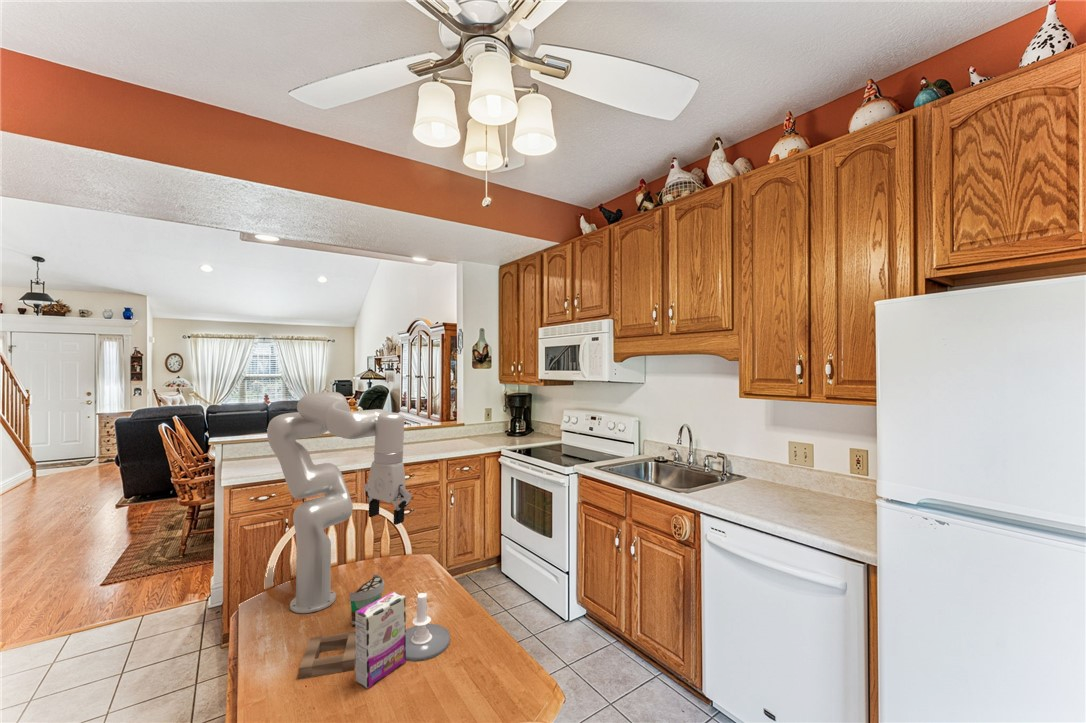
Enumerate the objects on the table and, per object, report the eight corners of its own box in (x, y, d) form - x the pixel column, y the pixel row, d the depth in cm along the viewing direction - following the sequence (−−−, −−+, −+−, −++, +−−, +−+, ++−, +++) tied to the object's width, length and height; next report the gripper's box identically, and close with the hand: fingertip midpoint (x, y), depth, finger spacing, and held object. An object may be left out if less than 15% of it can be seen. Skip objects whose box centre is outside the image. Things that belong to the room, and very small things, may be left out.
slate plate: (395, 632, 122) (395, 628, 122) (447, 624, 126) (447, 620, 126) (393, 665, 109) (393, 660, 109) (451, 655, 112) (451, 650, 112)
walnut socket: (310, 647, 115) (310, 638, 115) (360, 640, 118) (360, 630, 119) (298, 679, 104) (299, 668, 104) (354, 669, 107) (354, 659, 107)
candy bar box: (392, 655, 112) (393, 590, 113) (406, 662, 110) (407, 595, 110) (353, 682, 103) (354, 610, 103) (367, 690, 100) (368, 617, 100)
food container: (368, 632, 122) (369, 595, 122) (348, 629, 123) (349, 593, 123) (392, 608, 134) (392, 575, 134) (374, 606, 135) (374, 573, 135)
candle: (407, 637, 118) (408, 592, 118) (427, 630, 121) (427, 586, 121) (415, 647, 114) (416, 600, 114) (435, 639, 117) (435, 593, 117)
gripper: (355, 455, 124) (353, 516, 124) (400, 465, 115) (398, 530, 115) (377, 451, 130) (375, 509, 130) (421, 459, 122) (419, 522, 122)
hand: (386, 519), depth 123 cm, fingers open, 9 cm apart
